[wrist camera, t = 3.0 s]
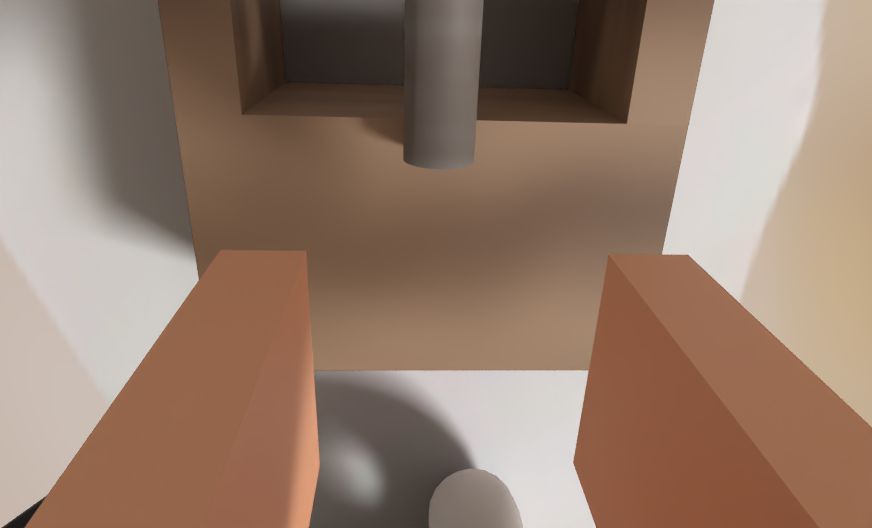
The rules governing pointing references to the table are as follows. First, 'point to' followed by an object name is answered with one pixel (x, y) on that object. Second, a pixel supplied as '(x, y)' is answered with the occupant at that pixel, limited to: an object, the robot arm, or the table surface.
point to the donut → (473, 502)
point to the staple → (597, 438)
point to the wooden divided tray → (438, 176)
